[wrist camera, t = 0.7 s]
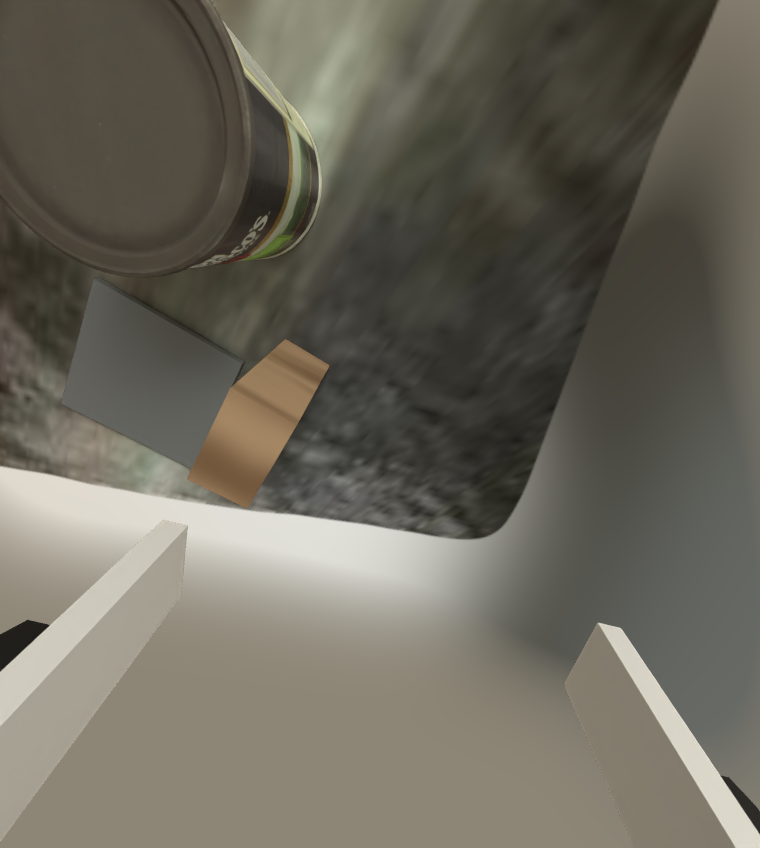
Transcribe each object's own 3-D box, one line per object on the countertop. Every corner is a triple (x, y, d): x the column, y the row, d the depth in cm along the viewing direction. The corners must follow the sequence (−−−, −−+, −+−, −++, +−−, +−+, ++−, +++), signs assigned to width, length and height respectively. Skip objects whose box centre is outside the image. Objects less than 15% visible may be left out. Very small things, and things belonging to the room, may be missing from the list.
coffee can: (343, 236, 27) (293, 235, 14) (211, 276, 28) (60, 307, 16) (291, 49, 23) (153, -192, 10) (140, 108, 24) (-146, -34, 12)
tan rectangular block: (285, 339, 30) (230, 387, 20) (329, 365, 31) (297, 425, 21) (250, 406, 33) (186, 479, 23) (291, 429, 34) (247, 508, 24)
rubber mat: (99, 277, 29) (93, 278, 28) (245, 361, 31) (242, 363, 31) (66, 401, 34) (60, 403, 33) (195, 465, 36) (191, 469, 35)
